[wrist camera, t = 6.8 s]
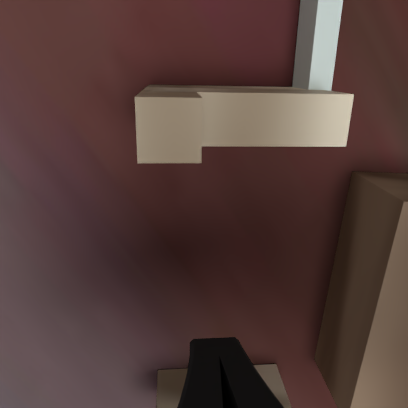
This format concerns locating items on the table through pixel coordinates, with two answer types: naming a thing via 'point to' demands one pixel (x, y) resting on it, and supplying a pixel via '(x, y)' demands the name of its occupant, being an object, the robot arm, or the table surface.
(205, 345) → the robot arm
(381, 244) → the block
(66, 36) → the table surface
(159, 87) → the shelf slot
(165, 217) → the table surface
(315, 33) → the tray frame
